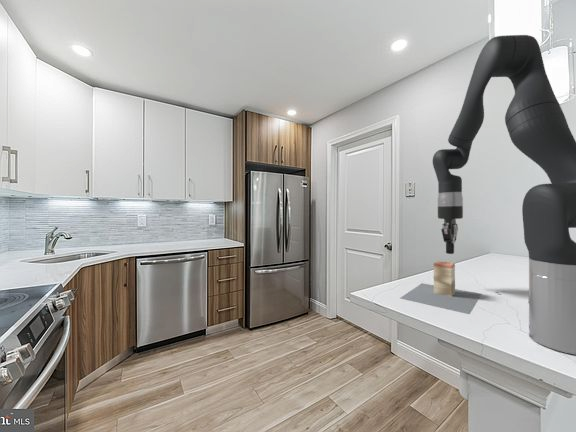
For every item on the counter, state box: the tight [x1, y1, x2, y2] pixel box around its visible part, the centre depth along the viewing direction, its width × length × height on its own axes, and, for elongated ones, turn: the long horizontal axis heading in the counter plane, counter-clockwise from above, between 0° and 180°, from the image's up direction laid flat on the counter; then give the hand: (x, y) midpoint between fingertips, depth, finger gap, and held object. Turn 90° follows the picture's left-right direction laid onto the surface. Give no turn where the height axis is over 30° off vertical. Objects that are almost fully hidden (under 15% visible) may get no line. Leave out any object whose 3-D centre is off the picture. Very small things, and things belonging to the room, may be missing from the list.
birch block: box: [433, 260, 456, 297], centre depth 82 cm, size 5×5×10 cm
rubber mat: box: [399, 283, 482, 315], centre depth 79 cm, size 18×22×1 cm
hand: (450, 253), depth 88 cm, fingers closed
